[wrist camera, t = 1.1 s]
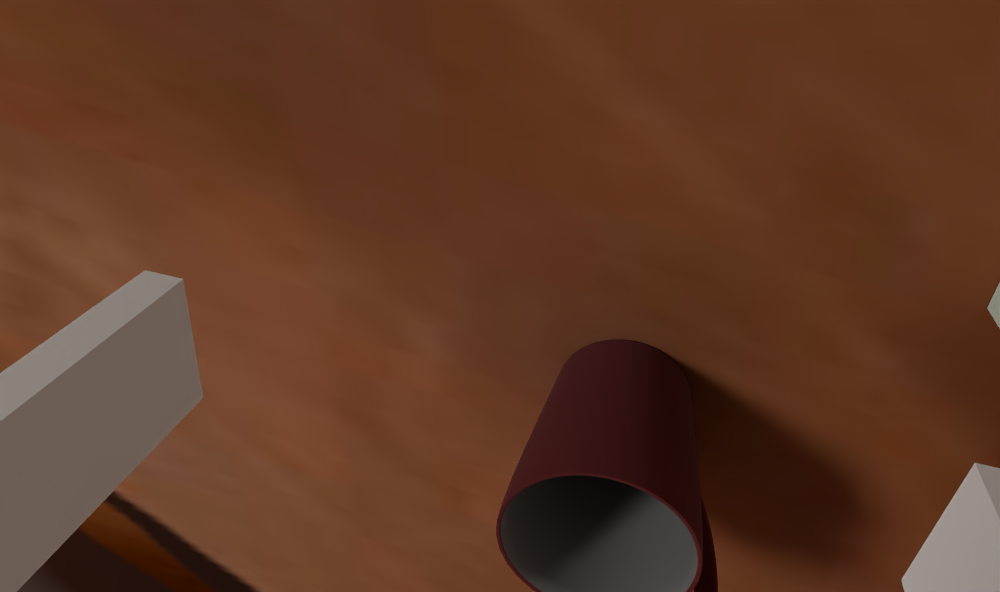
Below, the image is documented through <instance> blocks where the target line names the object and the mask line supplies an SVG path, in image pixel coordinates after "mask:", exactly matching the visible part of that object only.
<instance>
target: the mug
mask: <svg viewBox="0 0 1000 592" xmlns="http://www.w3.org/2000/svg"><path fill="white" fill-rule="evenodd" d="M496 535H497V540H498V544H499V548H500V550H501V552H502V554H503V556H504V558H505V560H506V562H507V564H508V565H509V566H510V568H511V569H512V570H513V571H514V573H515V574H516V575H517V576H518V577H519V578H520V579H521V580H522V581H523V582H524V583H526V584H527V585H528V586H529V587H530V588H531V589H532V590H534V591H536V592H692V591H693V589H694V592H718V581H717V567H716V558H715V551H714V545H713V539H712V534H711V529H710V525H709V521H708V517H707V514H706V510H705V507H704V504H703V501H702V498H701V494H700V481H699V470H698V458H697V447H696V437H695V426H694V416H693V406H692V397H691V390H690V386H689V383H688V381H687V378H686V377H685V375H684V373H683V372H682V370H681V369H680V368H679V366H678V365H677V364H676V363H675V362H674V361H673V360H672V359H671V358H669V357H668V356H667V355H665V354H664V353H662V352H661V351H659V350H657V349H655V348H653V347H651V346H648V345H646V344H642V343H639V342H635V341H629V340H606V341H600V342H596V343H593V344H590V345H588V346H586V347H584V348H582V349H580V350H579V351H577V352H576V353H575V354H573V355H572V356H571V357H570V358H569V359H568V361H567V362H566V363H565V365H564V366H563V368H562V370H561V372H560V374H559V376H558V378H557V380H556V382H555V384H554V386H553V389H552V391H551V393H550V395H549V397H548V399H547V401H546V404H545V406H544V408H543V410H542V412H541V414H540V416H539V419H538V421H537V423H536V425H535V427H534V429H533V432H532V434H531V436H530V438H529V440H528V443H527V445H526V447H525V449H524V452H523V454H522V456H521V458H520V461H519V463H518V465H517V468H516V470H515V472H514V475H513V477H512V479H511V482H510V484H509V487H508V490H507V492H506V495H505V497H504V500H503V503H502V506H501V509H500V512H499V516H498V519H497V526H496Z"/></svg>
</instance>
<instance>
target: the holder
mask: <svg viewBox="0 0 1000 592" xmlns="http://www.w3.org/2000/svg"><path fill="white" fill-rule="evenodd" d="M987 309H988V310H989V312H990V314H991V315H992V317H993V318H994V320H995V322H996V323H997V325H998V327H999V328H1000V283H999V285H998V287H997V289H996V291H995V293H994V295H993V297H992V299H991V301H990V303H989V305H988V307H987Z"/></svg>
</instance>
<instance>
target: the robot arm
mask: <svg viewBox="0 0 1000 592" xmlns="http://www.w3.org/2000/svg"><path fill="white" fill-rule="evenodd" d="M202 398H203V393H202V387H201V381H200V376H199V370H198V364H197V358H196V352H195V346H194V340H193V334H192V328H191V323H190V317H189V311H188V305H187V299H186V293H185V287H184V281H183V279H180V278H176V277H172V276H168V275H163V274H159V273H155V272H150V271H146V270H145V271H143V272H142V273H141V274H139V275H138V276H136V277H135V278H134V279H132V280H131V281H129V282H128V283H127V284H125V285H124V286H122V287H121V288H119V289H118V290H117V291H115V292H114V293H112V294H111V295H110V296H108V297H107V298H105V299H104V300H103V301H101V302H100V303H98V304H97V305H96V306H94V307H93V308H91V309H90V310H89V311H87V312H86V313H84V314H83V315H82V316H80V317H79V318H77V319H76V320H74V321H73V322H72V323H70V324H69V325H67V326H66V327H65V328H63V329H62V330H60V331H59V332H58V333H56V334H55V335H53V336H52V337H51V338H49V339H48V340H46V341H45V342H44V343H42V344H41V345H39V346H38V347H36V348H35V349H34V350H32V351H31V352H29V353H28V354H27V355H25V356H24V357H22V358H21V359H20V360H18V361H17V362H15V363H14V364H13V365H11V366H10V367H8V368H7V369H6V370H4V371H3V372H1V373H0V592H17V591H18V590H19V589H20V588H21V587H22V586H23V585H24V583H25V582H26V581H27V580H28V579H29V578H30V577H31V576H32V575H33V574H34V573H35V572H36V571H37V570H38V569H39V568H40V567H41V566H42V565H43V564H44V563H45V562H46V561H47V559H48V558H49V557H50V556H51V555H52V554H53V553H54V552H55V551H56V550H57V549H58V548H59V547H60V546H61V545H62V544H63V543H64V542H65V541H66V540H67V539H68V538H69V537H70V536H71V535H72V534H73V532H74V531H75V530H76V529H77V528H78V527H79V526H80V525H81V524H82V523H83V522H84V521H85V520H86V519H87V518H88V517H89V516H90V515H91V514H92V513H93V512H94V511H95V510H96V509H97V508H98V506H99V505H100V504H101V503H102V502H103V501H104V500H105V499H106V498H107V497H108V496H109V495H110V494H111V493H112V492H113V491H114V490H115V489H116V488H117V487H118V486H119V485H120V484H121V483H122V482H123V480H124V479H125V478H126V477H127V476H128V475H129V474H130V473H131V472H132V471H133V470H134V469H135V468H136V467H137V466H138V465H139V464H140V463H141V462H142V461H143V460H144V459H145V458H146V457H147V456H148V454H149V453H150V452H151V451H152V450H153V449H154V448H155V447H156V446H157V445H158V444H159V443H160V442H161V441H162V440H163V439H164V438H165V437H166V436H167V435H168V434H169V433H170V432H171V431H172V430H173V428H174V427H175V426H176V425H177V424H178V423H179V422H180V421H181V420H182V419H183V418H184V417H185V416H186V415H187V414H188V413H189V412H190V411H191V410H192V409H193V408H194V407H195V406H196V405H197V404H198V402H199V401H200V400H201V399H202ZM902 584H903V588H904V592H1000V468H996V467H991V466H987V465H983V464H978V463H974V465H973V467H972V468H971V470H970V471H969V473H968V474H967V476H966V478H965V479H964V481H963V482H962V484H961V486H960V487H959V489H958V490H957V492H956V494H955V495H954V497H953V498H952V500H951V502H950V503H949V505H948V506H947V508H946V510H945V511H944V513H943V514H942V516H941V517H940V519H939V521H938V522H937V524H936V525H935V527H934V529H933V530H932V532H931V533H930V535H929V537H928V538H927V540H926V541H925V543H924V545H923V546H922V548H921V549H920V551H919V552H918V554H917V556H916V557H915V559H914V560H913V562H912V564H911V565H910V567H909V568H908V570H907V572H906V573H905V575H904V576H903V578H902Z"/></svg>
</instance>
